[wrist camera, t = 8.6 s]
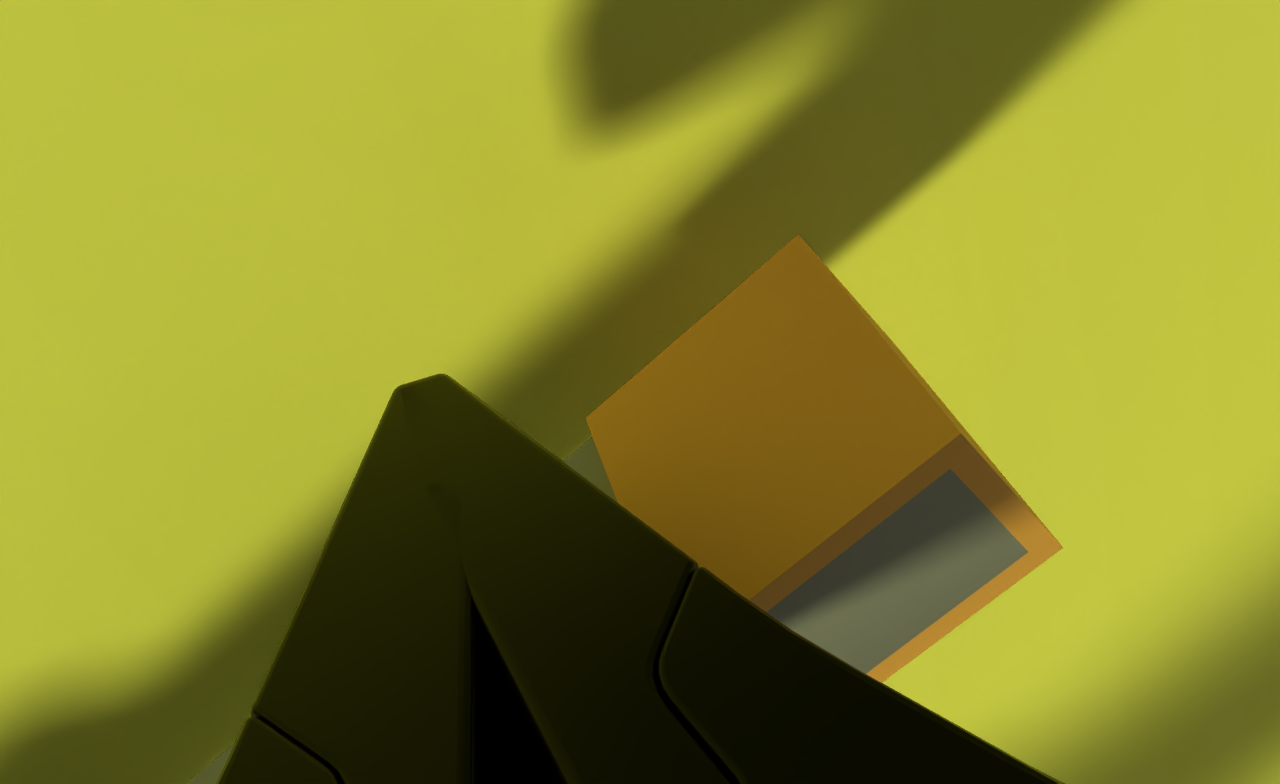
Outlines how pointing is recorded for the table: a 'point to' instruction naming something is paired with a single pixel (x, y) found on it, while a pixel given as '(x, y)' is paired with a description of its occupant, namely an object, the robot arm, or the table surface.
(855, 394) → the bar
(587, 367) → the table surface
